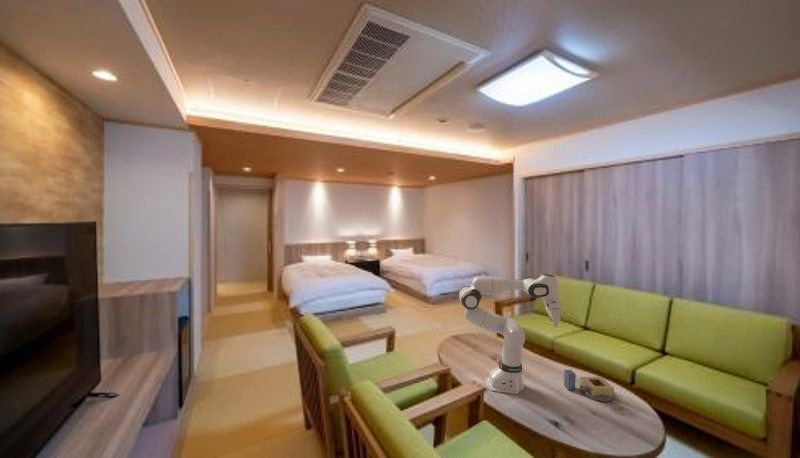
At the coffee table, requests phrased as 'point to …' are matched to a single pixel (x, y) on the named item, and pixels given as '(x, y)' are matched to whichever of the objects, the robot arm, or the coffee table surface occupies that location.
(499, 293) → the robot arm
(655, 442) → the coffee table surface
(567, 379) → the grey rectangular block
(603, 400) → the rosette plate
